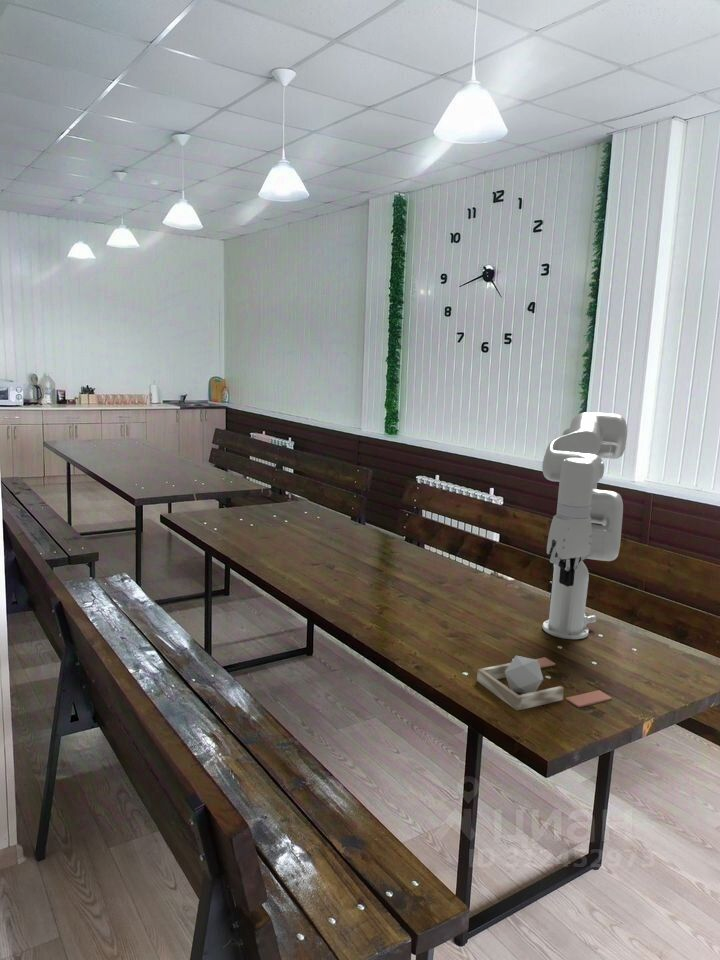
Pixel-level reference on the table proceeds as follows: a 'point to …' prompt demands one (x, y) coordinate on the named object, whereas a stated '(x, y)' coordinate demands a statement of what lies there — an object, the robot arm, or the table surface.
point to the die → (524, 675)
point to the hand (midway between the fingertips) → (566, 584)
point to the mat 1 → (545, 662)
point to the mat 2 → (588, 698)
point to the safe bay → (510, 697)
